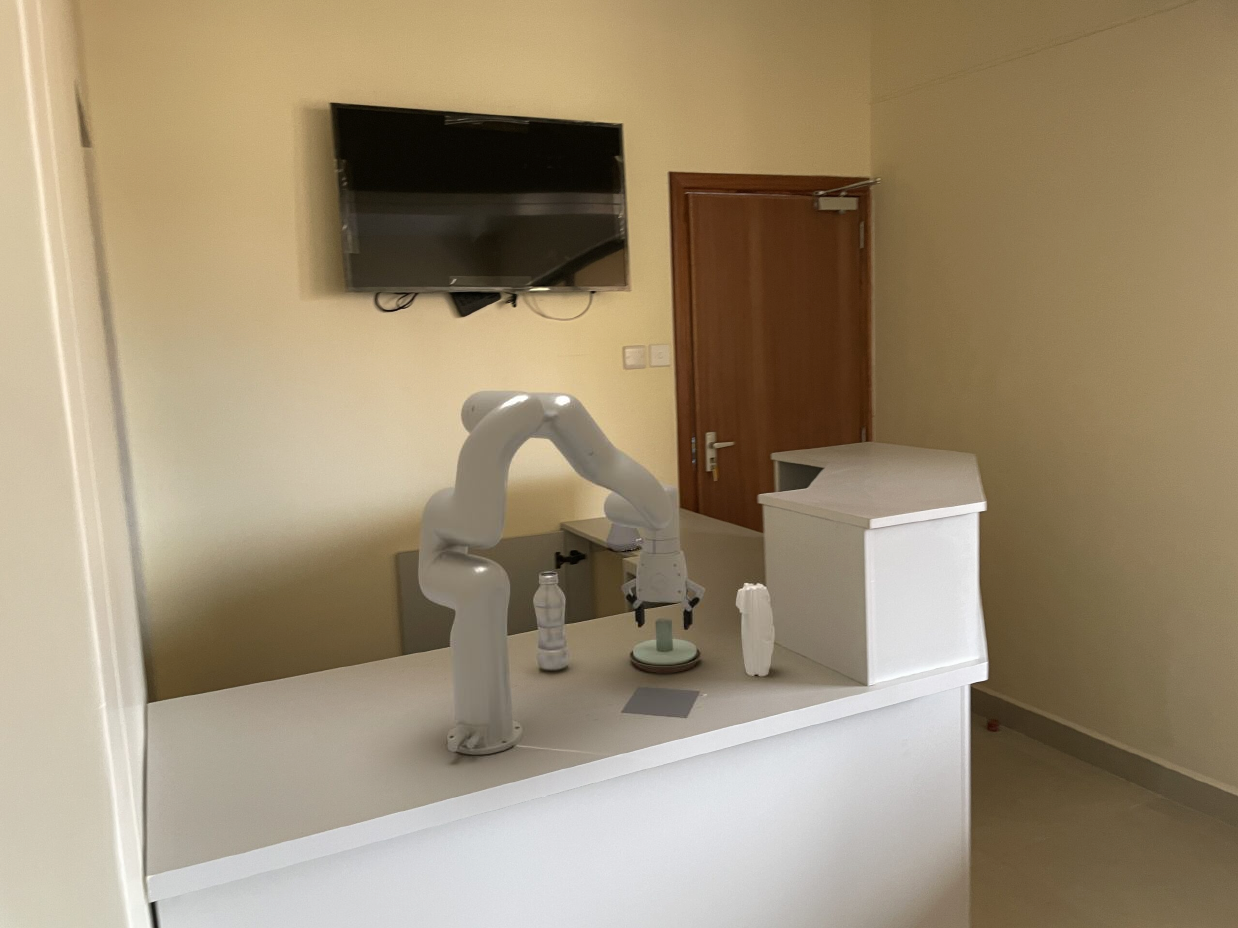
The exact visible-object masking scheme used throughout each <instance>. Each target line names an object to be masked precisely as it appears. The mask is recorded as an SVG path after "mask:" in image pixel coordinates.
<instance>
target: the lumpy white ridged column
mask: <svg viewBox="0 0 1238 928" xmlns="http://www.w3.org/2000/svg"><path fill="white" fill-rule="evenodd" d="M770 596H771V595H770V592H769V591H768V589H767V587H766V586H764V584H762V583H756V584H754V583H748V582H745V583H743V587H742V588H739V589H738V591H737V594H736V599H735V606H736V607H737V609H738V610H739V613H740V614H741V619H740V620H741V623H740V624H741V629H740V630H741V647H742V648H741V649H742V655H743V656H742V657H743V663H744V669H745V672H746V675H748V676H752V677H755V675H757V676H758V677H765V676H767V675H769V672H770V667H771V663H772V662H771V661H772V655H773V652H774V643H775V636H776V635H775V633H776V631H775V630H776V629H775V625H774V624H773V623H774V617H773V609H772V605H771V603H770V602H772V601H771V597H770Z"/></svg>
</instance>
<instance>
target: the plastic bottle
mask: <svg viewBox="0 0 1238 928" xmlns="http://www.w3.org/2000/svg"><path fill="white" fill-rule="evenodd" d="M538 579H539V580H538V584H539V587H538V589H537V590H536V591H535V593H534V595H533V608H534V612H535V615H536V616H535V617H536V624H537V625H536V626H537V630H538V631H537V632H538V634H537V635H538V636H537V649H536V660H537V665H538V666H539V667H540V668H541V670H545V671H559V670H562V669H565V668H567V666H568V664H569V660H570V651H569V648H568V645H567V639H566V632H565V631H566V630H565V613H566V612H565V611H566V596H565V594H564V592H563V590H562V588H561V587H560V586H558V583H559V579H558V572H556V571H544V572H540V573H539V574H538Z"/></svg>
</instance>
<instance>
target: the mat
mask: <svg viewBox="0 0 1238 928" xmlns="http://www.w3.org/2000/svg"><path fill="white" fill-rule="evenodd" d="M700 693H701V691H700V690H690V689H677V688H666V687H665V688H661V687H649V686H638V687H636V688H635V691H634V692H633V694H632V695H631V696H630V698H629V699H628V701H627V702H626V704H625V705H624V707H623V708H622V710H621V711H620V713H622V714H630V715H631V714H634V715H644V716H645V715H646V716H656V717H667V718H669V717H670V718H681V719H687V718H688V716H689V714H690V712H691V710H692V708H693V706H694V704H695V702H696V700H697V698H698V696H699V694H700Z"/></svg>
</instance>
